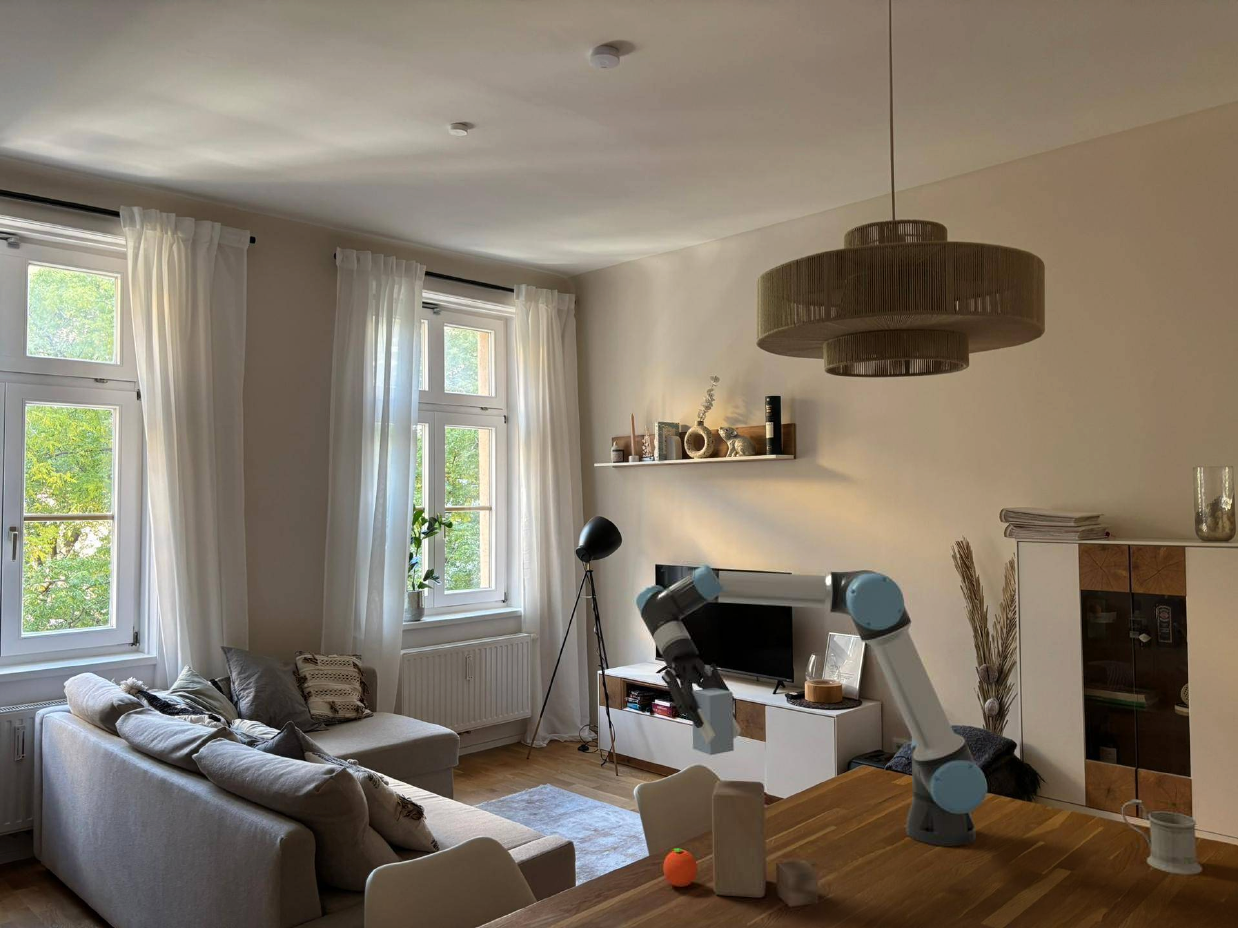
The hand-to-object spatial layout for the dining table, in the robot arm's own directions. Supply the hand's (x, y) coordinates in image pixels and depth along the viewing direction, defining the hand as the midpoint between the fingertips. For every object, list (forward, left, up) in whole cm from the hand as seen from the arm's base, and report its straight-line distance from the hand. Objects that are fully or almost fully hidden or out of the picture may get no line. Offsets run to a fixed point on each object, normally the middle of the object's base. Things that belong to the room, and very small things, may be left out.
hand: (724, 736), depth 185 cm
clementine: (+10, -1, -30) cm, 31 cm away
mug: (-93, -1, -30) cm, 98 cm away
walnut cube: (-12, +8, -30) cm, 33 cm away
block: (-2, +2, -30) cm, 30 cm away
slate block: (+2, -3, -3) cm, 5 cm away
